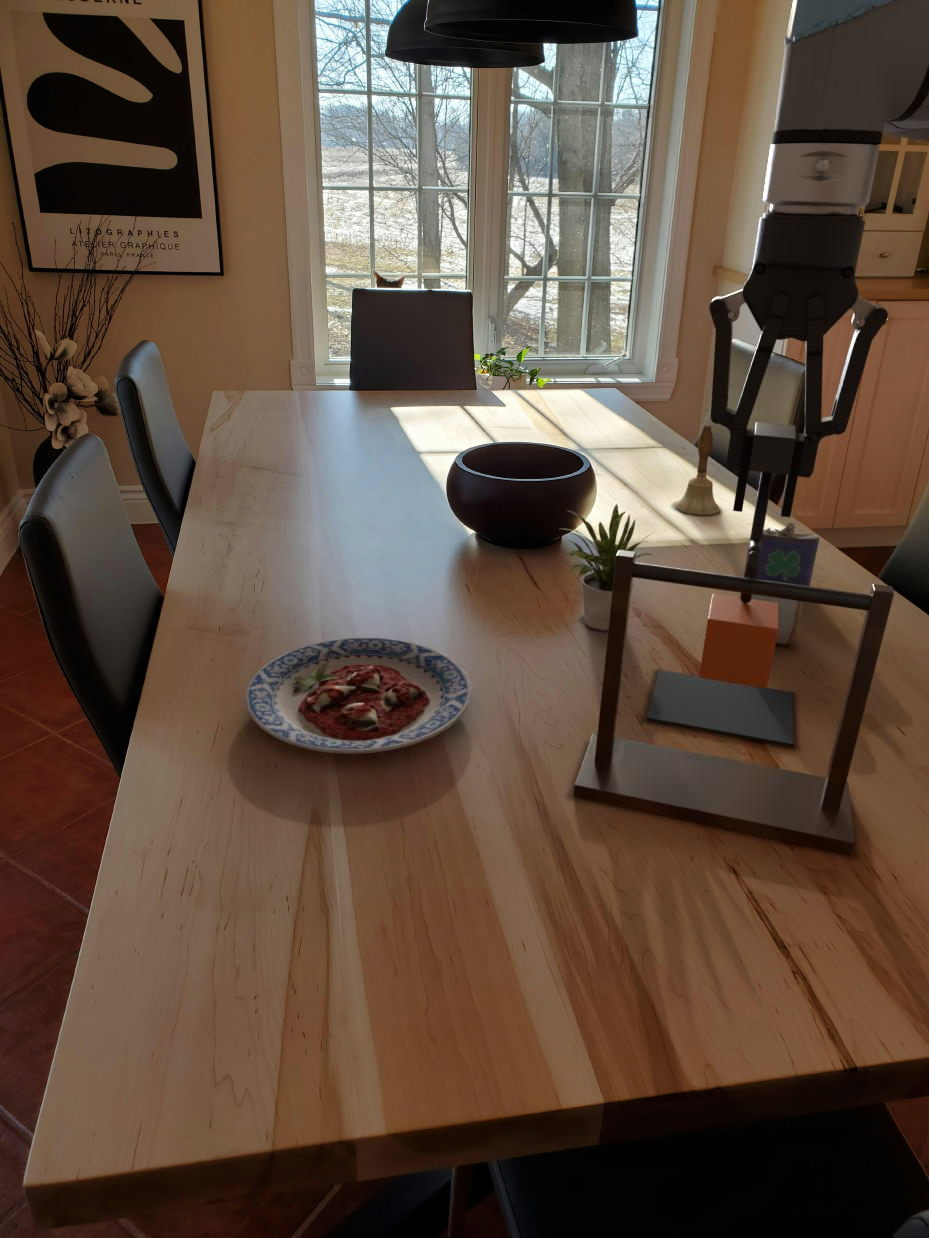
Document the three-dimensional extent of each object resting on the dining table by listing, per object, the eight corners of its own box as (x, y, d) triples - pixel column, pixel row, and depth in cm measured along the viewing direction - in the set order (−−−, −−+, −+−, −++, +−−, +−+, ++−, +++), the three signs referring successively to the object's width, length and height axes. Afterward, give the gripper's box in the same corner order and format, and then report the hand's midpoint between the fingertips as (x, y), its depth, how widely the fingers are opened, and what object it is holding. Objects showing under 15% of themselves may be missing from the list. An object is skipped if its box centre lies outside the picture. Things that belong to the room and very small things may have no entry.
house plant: (550, 594, 134) (558, 488, 127) (644, 600, 133) (657, 494, 126) (548, 637, 121) (557, 522, 114) (652, 644, 120) (667, 529, 113)
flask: (807, 588, 138) (820, 522, 134) (810, 595, 136) (824, 529, 131) (745, 582, 140) (756, 517, 135) (747, 590, 137) (759, 524, 132)
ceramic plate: (517, 706, 105) (518, 684, 103) (342, 801, 88) (340, 776, 87) (374, 633, 121) (373, 613, 120) (203, 701, 104) (200, 678, 103)
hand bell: (695, 518, 167) (707, 433, 160) (665, 505, 173) (676, 422, 166) (728, 511, 170) (741, 428, 163) (698, 499, 177) (710, 418, 170)
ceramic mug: (793, 655, 118) (804, 602, 115) (729, 644, 120) (738, 591, 117) (796, 624, 127) (806, 573, 124) (736, 614, 129) (745, 564, 126)
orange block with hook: (768, 659, 86) (812, 425, 76) (767, 689, 81) (814, 441, 71) (703, 649, 88) (739, 419, 78) (698, 677, 82) (736, 434, 73)
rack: (845, 793, 91) (902, 570, 80) (851, 855, 83) (916, 615, 72) (591, 744, 98) (613, 533, 87) (573, 797, 89) (594, 570, 79)
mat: (792, 694, 109) (793, 691, 109) (793, 747, 98) (793, 744, 98) (659, 672, 113) (659, 669, 113) (646, 720, 103) (646, 717, 103)
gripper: (698, 208, 66) (661, 511, 76) (939, 215, 62) (866, 535, 72) (705, 206, 73) (670, 486, 83) (925, 212, 68) (859, 507, 78)
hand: (761, 508), depth 77 cm, fingers closed on orange block with hook, 3 cm apart
